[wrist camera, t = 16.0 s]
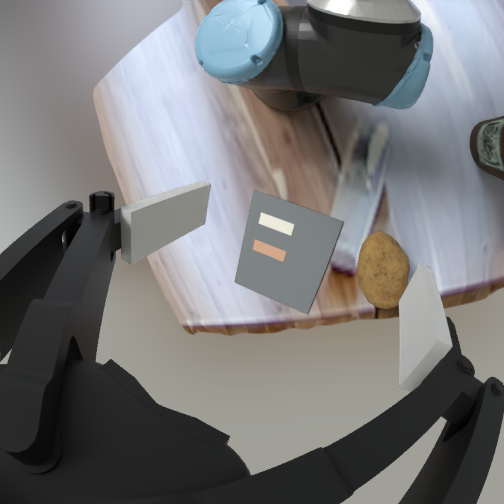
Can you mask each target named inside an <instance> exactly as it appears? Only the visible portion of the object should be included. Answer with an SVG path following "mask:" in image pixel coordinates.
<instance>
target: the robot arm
mask: <svg viewBox="0 0 504 504" xmlns="http://www.w3.org/2000/svg"><path fill="white" fill-rule="evenodd" d="M306 1H307V6H276V4H275V3H273V2H272V1H270V0H224V1H222V2H221V3H219V4H218V5H216V6H215V7H214V8H213V9H212V10H211V12H210V14H209V15H207V16H206V17H205V18H204V19H203V21H202V22H201V24H200V26H199V29H198V31H197V34H196V39H195V53H196V57H197V60H198V62H199V64H200V65H201V67H202V68H203V69H204V71H205V72H206V73H208V74H209V75H211V76H212V77H215V78H217V79H219V80H220V81H222V82H223V83H228V84H235V85H238V86H241V87H244V88H247V89H250V90H252V91H253V92H254V94H255V95H256V96H257V97H258V98H259V99H260V100H261V101H262V102H264V103H265V104H267V105H269V106H271V107H273V108H276V109H279V110H284V111H300V110H304V109H307V108H310V107H312V106H314V105H315V104H317V103H318V102H319V101H321V100H322V99H323V98H324V97H325V95H328V96H335V97H340V98H346V99H351V100H356V101H361V102H365V103H370V104H372V105H373V106H385V107H390V108H395V109H400V110H401V109H406V108H410V107H411V106H413V105H414V104H415V103H416V101H417V100H418V98H419V97H420V95H421V93H422V91H423V89H424V86H425V83H426V81H427V78H428V74H429V70H430V60H431V57H432V53H433V36H432V32H431V30H430V29H429V28H428V27H427V26H425V25H424V24H423V23H420V19H421V12H420V10H419V9H418V8H417V7H416V6H415V4H414V3H413V2H412V1H411V0H306ZM210 188H211V184H209V183H206V182H203V181H199V182H196V183H193V184H189V185H186V186H183V187H179V188H176V189H173V190H170V191H167V192H164V193H161V194H158V195H155V196H152V197H149V198H146V199H143V200H140V201H137V202H134V203H131V204H129V205H126V206H123V207H121V208H120V209H118V210H115V211H114V193H111V192H108V191H99V192H95V193H92V194H91V195H90V196H89V198H90V200H89V201H90V212H89V213H88V212H83V203H81V202H79V201H74V200H73V201H68V202H66V203H64V204H62V205H60V206H59V207H58V208H56V209H55V210H54V211H52V212H51V213H50V214H48V215H47V216H45V217H44V218H43V219H42V220H40V221H39V222H38V223H36V224H35V225H34V226H33V227H32V228H30V229H29V230H28V231H27V232H25V233H24V234H23V235H22V236H21V237H19V238H18V239H17V240H16V241H15V242H13V243H12V244H11V245H10V246H9V247H8V248H7V249H5V251H3V252H2V253H1V254H0V361H1V360H2V359H3V358H4V357H5V356H6V355H7V354H8V352H9V351H10V350H11V349H12V351H11V353H10V356H9V360H8V363H7V364H0V504H340V503H341V502H343V501H345V500H346V499H347V498H349V497H350V496H351V495H352V494H353V493H354V491H355V490H357V489H358V488H359V487H361V486H362V485H364V484H365V483H367V482H368V481H369V480H371V479H372V478H373V477H375V476H376V475H377V474H379V473H380V472H381V471H383V470H384V469H385V468H386V467H388V466H389V465H390V464H391V463H393V462H394V461H395V460H396V459H397V458H399V457H400V456H401V455H402V454H403V453H404V452H405V451H407V450H408V449H409V448H410V447H411V446H412V445H413V444H414V443H415V442H416V441H417V440H418V439H419V438H420V437H421V436H423V434H425V433H426V432H427V431H428V430H429V429H430V428H431V427H432V425H433V424H434V423H435V422H436V421H437V420H438V419H439V418H440V417H441V416H442V417H443V418H445V419H446V420H447V422H446V424H445V426H444V428H443V430H442V432H441V434H440V436H439V439H438V440H437V442H436V444H435V447H434V448H433V450H432V452H431V454H430V455H429V457H428V459H427V461H426V463H425V464H424V466H423V468H422V469H421V471H420V472H419V474H418V476H417V477H416V479H415V480H414V482H413V483H412V485H411V486H410V488H409V489H408V491H407V492H406V494H405V495H404V497H403V498H402V499H401V501H400V502H399V504H476V503H477V501H478V498H479V496H480V494H481V491H482V489H483V486H484V483H485V481H486V478H487V475H488V472H489V469H490V466H491V463H492V460H493V456H494V453H495V449H496V446H497V442H498V438H499V434H500V429H501V424H502V419H503V413H504V385H503V383H502V382H500V381H499V380H498V379H497V378H495V377H490V378H489V379H488V380H487V381H486V382H485V383H482V382H480V381H479V380H478V379H476V378H475V377H474V374H475V370H474V367H473V365H472V363H471V362H470V361H469V359H467V358H466V357H465V356H463V355H462V354H461V349H460V345H459V341H458V337H457V334H456V329H455V326H454V324H453V322H452V321H451V319H450V318H449V317H447V316H445V312H444V309H443V305H442V301H441V298H440V295H439V291H438V288H437V285H436V282H435V279H434V276H433V273H432V270H431V267H429V266H426V265H424V264H422V263H419V265H418V267H417V269H416V271H415V273H414V275H413V277H412V278H411V280H410V282H409V284H408V286H407V288H406V290H405V292H404V293H403V295H402V297H401V299H400V300H399V321H400V364H399V386H398V387H399V388H402V389H405V390H408V391H411V392H410V393H409V394H408V395H407V396H405V397H404V398H403V399H402V400H400V401H399V402H397V403H396V404H395V405H393V406H392V407H390V408H389V409H388V410H386V411H385V412H383V413H382V414H380V415H379V416H378V417H376V418H374V419H373V420H371V421H370V422H368V423H367V424H365V425H363V426H362V427H360V428H359V429H357V430H355V431H354V432H352V433H350V434H349V435H347V436H345V437H343V438H342V439H340V440H338V441H336V442H334V443H333V444H331V445H329V446H327V447H324V448H322V447H320V448H317V449H315V450H313V451H310V452H308V453H306V454H304V455H302V456H299V457H297V458H295V459H293V460H290V461H288V462H286V463H283V464H281V465H278V466H277V467H273V468H271V469H268V470H266V471H263V472H260V473H258V474H255V475H252V476H251V474H250V472H249V470H248V468H247V466H246V465H245V463H244V462H243V460H242V459H241V458H240V456H239V455H238V454H237V453H236V452H235V451H234V450H233V449H232V448H231V447H229V446H228V445H227V443H228V440H229V438H230V436H229V435H227V434H225V433H223V432H221V431H219V430H217V429H215V428H213V427H211V426H210V425H208V424H206V423H204V422H202V421H201V420H199V419H197V418H195V417H191V416H188V415H186V414H183V413H180V412H177V411H174V410H171V409H168V408H166V407H163V406H161V405H159V404H157V403H156V402H155V401H154V400H153V399H152V397H151V396H150V395H149V394H148V393H147V392H146V390H145V389H144V388H143V387H142V386H141V385H140V383H139V382H138V381H137V380H136V379H135V377H133V376H132V375H131V374H129V373H128V372H127V371H125V370H124V369H123V368H122V367H120V366H119V365H118V364H117V363H115V362H114V361H113V360H112V359H110V360H109V361H108V362H107V363H106V364H104V365H103V364H100V363H97V362H96V352H97V346H98V345H97V344H98V339H99V333H100V327H101V322H102V316H103V311H104V306H105V301H106V297H107V292H108V287H109V284H110V279H111V275H112V271H113V267H114V263H115V260H116V251H117V250H119V249H121V257H122V259H123V260H125V261H126V262H128V263H130V264H131V265H132V264H134V263H135V262H137V261H139V260H141V259H142V258H144V257H146V256H148V255H149V254H151V253H153V252H155V251H157V250H158V249H160V248H162V247H164V246H165V245H167V244H169V243H171V242H173V241H174V240H176V239H178V238H180V237H182V236H184V235H185V234H187V233H189V232H191V231H193V230H195V229H196V228H198V227H200V226H202V225H204V224H205V221H206V214H207V207H208V200H209V194H210ZM62 235H63V239H64V242H63V243H62ZM12 347H13V348H12Z"/></svg>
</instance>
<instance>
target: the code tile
mask: <svg viewBox="0 0 504 504" xmlns="http://www.w3.org/2000/svg"><path fill="white" fill-rule="evenodd" d="M342 223H343V221H340V220H337V219H335V218H332V217H329V216H327V215H324V214H321V213H319V212H316V211H313V210H311V209H308V208H305V207H302V206H299V205H297V204H294V203H291V202H288V201H285V200H282V199H279V198H276V197H274V196H271V195H268V194H265V193H262V192H259V191H255V190H254V192H253V196H252V201H251V206H250V210H249V215H248V220H247V224H246V229H245V234H244V239H243V243H242V248H241V253H240V258H239V263H238V267H237V272H236V277H235V283H237V284H240V285H242V286H244V287H246V288H249V289H251V290H253V291H255V292H258V293H260V294H262V295H264V296H267V297H269V298H271V299H273V300H276V301H278V302H280V303H283V304H285V305H287V306H290V307H292V308H294V309H297V310H299V311H301V312H304V313H306V314H308V311H309V309H310V306H311V304H312V302H313V299H314V297H315V294H316V292H317V290H318V287H319V285H320V282H321V280H322V277H323V275H324V272H325V270H326V267H327V264H328V262H329V259H330V256H331V254H332V251H333V248H334V246H335V243H336V240H337V238H338V235H339V232H340V229H341V226H342Z"/></svg>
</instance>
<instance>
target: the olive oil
mask: <svg viewBox="0 0 504 504" xmlns="http://www.w3.org/2000/svg"><path fill="white" fill-rule="evenodd" d="M470 149H471V153H472V156H473V158H474V160H475V162H476V163H477V165H478V166H479V167H480V168H481V169H482V170H484V171H485V172H487V173H489V174H492V175H494V176H496V177H498V178H500V179H502V180H504V116H502V117H498V118H495V119H491V120H486V121H482V122H480V123H478V124H477V125H476V126H475V127H474V129H473V130H472V133H471V136H470Z"/></svg>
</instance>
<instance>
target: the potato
mask: <svg viewBox="0 0 504 504" xmlns="http://www.w3.org/2000/svg"><path fill="white" fill-rule="evenodd" d="M409 269H410V268H409V261H408V257H407V256H406V254H405V253H404V251H403V250H402V248H401V247H400V245H399V244H398V242H397V241H395V240H394V239H393V238H392V237H391V236H390V235H388V234H385V233H383V232H377V233H374V234H371V235H369V236H368V237H367V239H366V240H365V241H364V243H363V244H362V247H361V250H360V253H359V260H358V284H359V286H360V288H361V290H362V292H363V293H364V295H365V297H366V298H367V300H368V302H370V303H371V304H373V305H374V306H376V307H378V308H382V309H390V308H393V307H396V306H397V305H398V304H399V300H400V299H401V297H402V295H403V293H404V292H405V290H406V287H407V281H408V274H409Z"/></svg>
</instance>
